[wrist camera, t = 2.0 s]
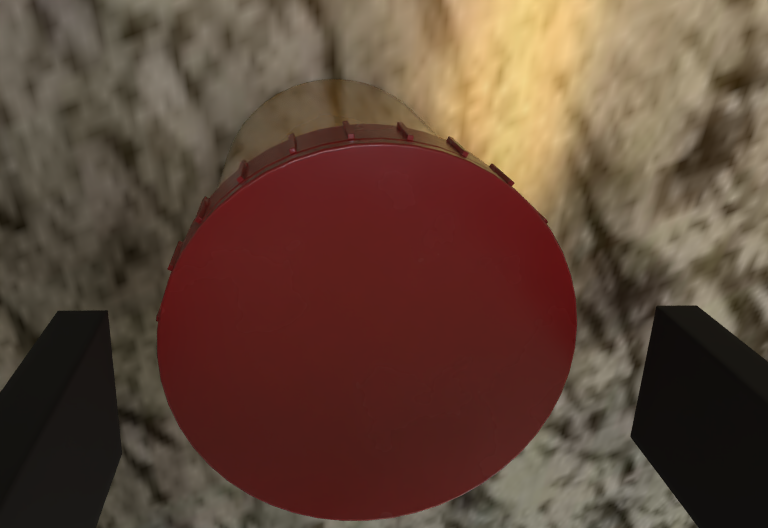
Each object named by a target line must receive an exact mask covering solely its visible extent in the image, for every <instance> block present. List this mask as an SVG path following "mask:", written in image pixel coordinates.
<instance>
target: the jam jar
mask: <svg viewBox="0 0 768 528" xmlns="http://www.w3.org/2000/svg"><path fill="white" fill-rule="evenodd" d="M342 121H348V122H349V124H350V125H352V124H382V125H393V126H397V122H402V123H403V124H404V125H405V126H406V127H407V128H410V129H414V130H419V131H423V132H427V133H429V134H432V135H434V136H437V135H436V134H435V133H434V132H433V131H432V130H431V129H430V128H429V127H428V126H427V125H426V124H425V123H424V122H423V121H422V120H421V119H420V118H419V117H418V116H417V115H416V114H415V113H414V112H413V111H412V110H411V109H410V108H409V107H407V106H406V105H405V104H404V103H402V102H401V101H400V100H398V99H397V98H396V97H394V96H392V95H391V94H389V93H387V92H385V91H383V90H381V89H379V88H376V87H374V86H371V85H368V84H365V83H360V82H356V81H351V80H341V79H329V80H318V81H312V82H307V83H304V84H300V85H297V86H294V87H291V88H289V89H287V90H285V91H283V92H281V93H279V94H277V95H276V96H274V97H273V98H271V99H269V100H268V101H266V102H265V103H264V104H263V105H262V106H260V107H259V108H258V109H257V110H256V111H255V112H254V113H253V114H252V115H251V116H250V117H249V118H248V119H247V121H246V122H245V123H244V124H243V126H242V127H241V129H240V130H239V132H238V133H237V135H236V137H235V139H234V141H233V143H232V145H231V147H230V150H229V153H228V156H227V159H226V162H225V165H224V168H223V171H222V175H221V178H220V181H219V184H218V187H217V189H218V188H219V187H220V186H221V185H222V183H223V182H224V181H225V180H226V179H228V178H229V177H230V176H231V175H232V174H233V173H235V172H236V171H237V170H238V169H239V165H240V162H241V161H242V160H244V159H245V160H246V161H247V162H249V161H250V160H252V159H253V158H255V157H256V156H258V155H259V154H261V153H263V152H264V151H266V150H267V149H269V148H271V147H274V146H276V145H278V144H280V143H282V142H284V141H286V140H289V139H288V135H289V134H292V133H294V135H295V137H296V136H299V135H303V134H306V133H309V132H312V131H315V130H319V129H324V128H330V127H336V126H341V125H343V123H342ZM437 137H438V136H437Z"/></svg>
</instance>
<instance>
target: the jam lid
mask: <svg viewBox="0 0 768 528" xmlns="http://www.w3.org/2000/svg"><path fill="white" fill-rule="evenodd" d="M342 123H343V125H341V126H336V127H330V128H324V129H319V130H315V131H312V132H309V133H306V134H303V135H299V136H296V137H295V135H294V133H292V134H289V135H288V139H289V140H286V141H284V142H282V143H280V144H278V145H276V146H274V147H271V148H269V149H267V150H266V151H264V152H263V153H261V154H259V155H258V156H256V157H255V158H253V159H252V160H250V161H249V162H247V161H246V160H245V159H244V160H242V161H241V162H240V165H239V169H238V170H237V171H236V172H235V173H233V174H232V175H231V176H230V177H229V178H228V179H226V180H225V181H224V182H223V183H222V185H221V186H220V187H219V188H218V189H217V190H216V191H215V192H214V193H213V195H212V196H211V197H210V198H207V197H206V196H205V197H204V198H203V200H202V202H201V205H200V207H199V210H198V213H197V216H196V218H195V219H194V221H193V223H192V225H191V227H190V229H189V231H188V233H187V235H186V237H185V239H184V241H183V242H181V241H179V242H178V244H177V247H176V249H175V252H174V254H173V257H172V259H171V261H170V264H169V267H168V270H170V271H172V272H171V274H170V277H169V280H168V283H167V286H166V290H165V293H164V296H163V299H162V302H161V306H160V309H159V311H158V314H157V317H156V321H158V327H157V358H158V365H159V372H160V378H161V382H162V386H163V389H164V392H165V395H166V399H167V402H168V405H169V407H170V409H171V411H172V413H173V415H174V417H175V419H176V421H177V423H178V425H179V427H180V429H181V430H182V432H183V433H184V435H185V436H186V438H187V439H188V441H189V442H190V444H191V445H192V446H193V448H194V449H195V450H196V451H197V452H198V453H199V454H200V456H201V457H202V458H203V459H204V460H205V461H206V462H207V463H208V464H209V465H210V466H211V467H212V468H213V469H214V470H216V471H217V472H218V473H219V474H220V475H221V476H223V477H224V478H225V479H226V480H227V481H229V482H230V483H232V484H233V485H235V486H236V487H238V488H240V489H241V490H243V491H244V492H246V493H247V494H249V495H251V496H253V497H255V498H257V499H259V500H261V501H263V502H266V503H268V504H270V505H272V506H275V507H278V508H281V509H284V510H287V511H290V512H293V513H297V514H301V515H306V516H310V517H315V518H321V519H331V520H340V521H369V520H378V519H388V518H394V517H399V516H404V515H408V514H413V513H417V512H420V511H423V510H426V509H429V508H432V507H436V506H439V505H441V504H443V503H446V502H448V501H450V500H452V499H455V498H457V497H459V496H461V495H463V494H465V493H467V492H468V491H470V490H472V489H474V488H475V487H477V486H479V485H481V484H482V483H484V482H485V481H487V480H488V479H489V478H491V477H492V476H493V475H495V474H496V473H498V472H499V471H500V470H502V469H503V468H504V467H505V466H506V465H507V464H508V463H510V462H511V461H512V460H513V459H514V458H515V457H516V456H517V455H518V454H519V453H521V451H522V450H523V449H524V448H525V447H526V446H527V445H528V443H529V442H530V441H531V440H532V439H533V438H534V437H535V436H536V434H537V433H538V432H539V430H540V429H541V427H542V426H543V424H544V423H545V421H546V420H547V418H548V417H549V416H550V414H551V412H552V410H553V408H554V406H555V404H556V403H557V401H558V399H559V397H560V395H561V393H562V390H563V388H564V385H565V382H566V379H567V377H568V374H569V371H570V367H571V363H572V359H573V354H574V350H575V342H576V331H577V311H576V297H575V292H574V287H573V282H572V277H571V274H570V271H569V268H568V265H567V262H566V260H565V257H564V254H563V252H562V250H561V248H560V246H559V244H558V242H557V240H556V239H555V237H554V235H553V233H552V231H551V229H550V228H549V227H548V225H547V223H548V222H547V220H546V219H545V218H544V217H543V216H542V215H541V214H540V213H539V212H538V211H537V210H536V209H535V208H534V207H533V206H532V205H531V204H530V203H529V202H528V201H527V200H526V199H525V198H524V197H523V196H522V195H521V194H519V193H518V192H517V191H516V190H515V189H514V188H513V187H512V185H513V184H514V182H513V181H512V180H511V179H510V178H509V177H507V176H506V175H505V174H504V173H503V172H502V171H500V170H499V169H498V168H497V167H496V166H495V165H494V164H491V165H490V166H488V165H487V164H485V163H484V162H483V161H481V160H480V159H479V158H477V157H476V156H475V155H473V154H472V153H470V152H468V151H467V150H465V149H464V148H463V147H462V146H461V145H460V144H459V143H458V142H457V141H455V140H454V139H453V138H451V137H448V139H447V140H445V139H442V138H440V137H437V136H434V135H432V134H429V133H427V132H423V131H419V130H414V129H410V128H407V127H406V126H405V125H404V124H403V123H402V122H397V126H393V125H382V124H352V125H350V124H349V122H348V121H342Z"/></svg>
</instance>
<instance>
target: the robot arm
mask: <svg viewBox="0 0 768 528" xmlns="http://www.w3.org/2000/svg"><path fill="white" fill-rule="evenodd" d="M630 437H631V438H632V439H633V441H634V442H635V443H636V445H637V446H638V447H639V449H640V450H641V451H642V453H643V454H644V455H645V457H646V458H647V459H648V461H649V462H650V463H651V465H652V466H653V467H654V469H655V470H656V471H657V473H658V474H659V475H660V477H661V478H662V479H663V481H664V482H665V483H666V485H667V486H668V487H669V489H670V490H671V491H672V493H673V494H674V495H675V497H676V498H677V499H678V501H679V502H680V503H681V505H682V506H683V507H684V509H685V510H686V511H687V513H688V514H689V515H690V517H691V518H692V519H693V521H694V522H695V523H696V525H697V526H698V527H699V528H768V362H767V361H766V360H765V359H764V358H762V357H761V356H760V355H759V354H757V353H756V352H755V351H753V350H752V349H751V348H750V347H748V346H747V345H746V344H745V343H743V342H742V341H741V340H740V339H738V338H737V337H736V336H735V335H733V334H732V333H731V332H729V331H728V330H727V329H726V328H724V327H723V326H722V325H721V324H719V323H718V322H717V321H716V320H714V319H713V318H712V317H711V316H709V315H708V314H707V313H706V312H704V311H703V310H702V309H700V308H699V307H698V306H657V307H656V312H655V317H654V321H653V326H652V331H651V336H650V341H649V346H648V351H647V356H646V361H645V366H644V371H643V376H642V381H641V386H640V391H639V396H638V401H637V406H636V411H635V416H634V421H633V426H632V431H631V436H630ZM121 455H122V449H121V439H120V429H119V419H118V409H117V399H116V389H115V379H114V369H113V359H112V349H111V339H110V329H109V319H108V310H105V311H57V313H56V314H55V316H54V317H53V318H52V320H51V321H50V323H49V324H48V326H47V327H46V328H45V330H44V331H43V333H42V334H41V336H40V337H39V338H38V340H37V341H36V343H35V344H34V345H33V347H32V348H31V350H30V351H29V353H28V354H27V355H26V357H25V358H24V360H23V361H22V363H21V364H20V365H19V367H18V368H17V370H16V371H15V372H14V374H13V375H12V377H11V378H10V380H9V381H8V382H7V384H6V385H5V387H4V388H3V389H2V391H1V392H0V528H96V525H97V523H98V520H99V517H100V514H101V511H102V508H103V506H104V503H105V500H106V497H107V494H108V492H109V489H110V486H111V483H112V480H113V477H114V475H115V472H116V469H117V466H118V463H119V461H120V458H121Z"/></svg>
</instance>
